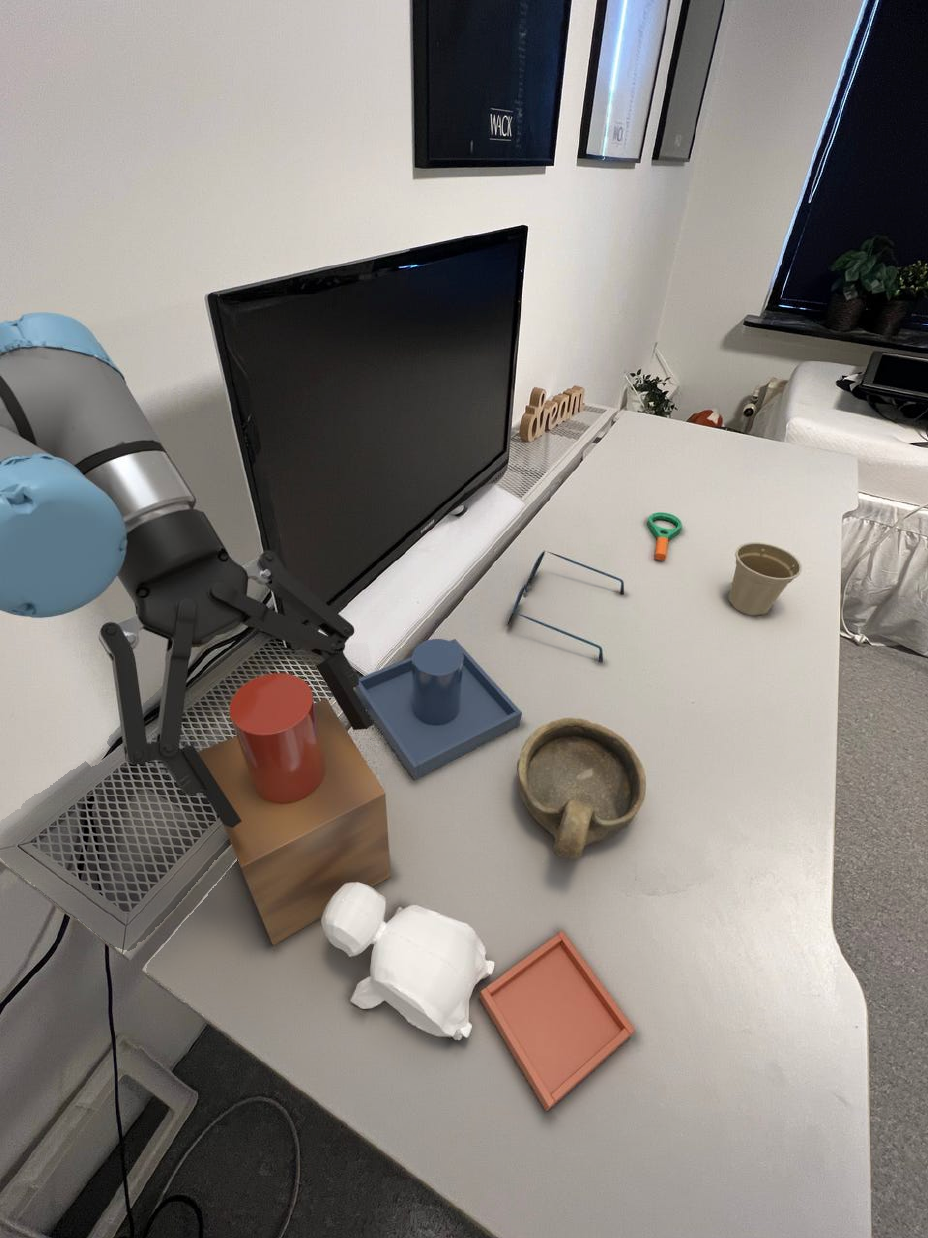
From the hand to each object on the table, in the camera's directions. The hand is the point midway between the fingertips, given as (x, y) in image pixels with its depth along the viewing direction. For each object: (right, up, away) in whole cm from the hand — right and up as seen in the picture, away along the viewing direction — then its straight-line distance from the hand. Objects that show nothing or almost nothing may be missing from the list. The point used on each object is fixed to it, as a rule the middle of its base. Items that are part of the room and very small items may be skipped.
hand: (303, 771), depth 47 cm
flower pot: (+58, +14, +48) cm, 77 cm away
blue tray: (+9, +1, +28) cm, 30 cm away
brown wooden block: (-3, -12, +13) cm, 18 cm away
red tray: (+20, -22, +4) cm, 30 cm away
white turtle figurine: (+7, -19, +6) cm, 21 cm away
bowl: (+24, -9, +19) cm, 32 cm away
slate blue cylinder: (+9, +1, +28) cm, 29 cm away
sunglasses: (+28, +13, +44) cm, 54 cm away
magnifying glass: (+49, +27, +61) cm, 83 cm away
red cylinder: (-2, -1, +3) cm, 4 cm away
